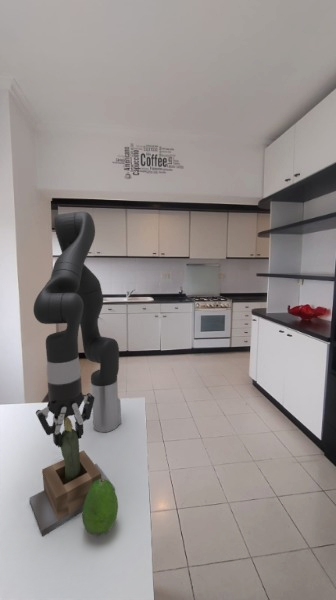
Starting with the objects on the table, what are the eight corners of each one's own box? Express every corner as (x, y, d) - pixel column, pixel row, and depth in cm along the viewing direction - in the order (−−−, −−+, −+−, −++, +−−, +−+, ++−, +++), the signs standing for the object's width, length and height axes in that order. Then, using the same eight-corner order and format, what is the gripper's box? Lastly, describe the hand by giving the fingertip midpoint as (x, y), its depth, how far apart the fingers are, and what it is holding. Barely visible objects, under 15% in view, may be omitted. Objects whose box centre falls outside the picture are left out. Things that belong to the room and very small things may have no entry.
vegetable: (85, 483, 71) (80, 412, 68) (74, 497, 67) (69, 422, 64) (71, 479, 73) (66, 409, 70) (59, 492, 69) (53, 419, 66)
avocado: (120, 539, 60) (118, 490, 58) (83, 550, 57) (79, 500, 56) (116, 507, 67) (115, 463, 65) (83, 516, 65) (80, 471, 63)
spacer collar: (96, 468, 80) (95, 444, 79) (115, 492, 72) (113, 466, 71) (29, 503, 69) (27, 476, 68) (42, 536, 60) (39, 506, 59)
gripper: (86, 363, 73) (90, 423, 75) (28, 379, 64) (34, 445, 66) (99, 372, 67) (102, 436, 70) (36, 390, 58) (42, 463, 61)
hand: (69, 440), depth 68 cm, fingers closed on vegetable, 4 cm apart
